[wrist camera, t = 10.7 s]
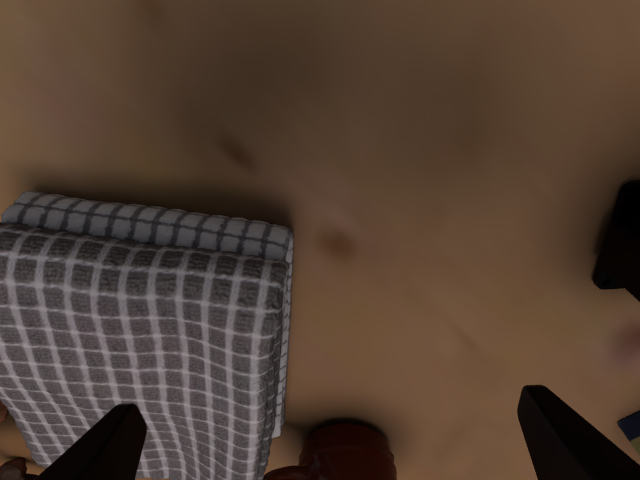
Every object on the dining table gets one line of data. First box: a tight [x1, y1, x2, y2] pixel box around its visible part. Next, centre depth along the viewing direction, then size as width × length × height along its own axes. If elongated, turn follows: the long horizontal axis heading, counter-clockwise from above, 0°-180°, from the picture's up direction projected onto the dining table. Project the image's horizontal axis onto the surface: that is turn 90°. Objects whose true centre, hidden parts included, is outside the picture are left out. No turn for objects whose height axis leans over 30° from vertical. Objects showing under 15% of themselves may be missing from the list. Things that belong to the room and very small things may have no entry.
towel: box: [0, 191, 294, 480], centre depth 22 cm, size 15×18×8 cm
